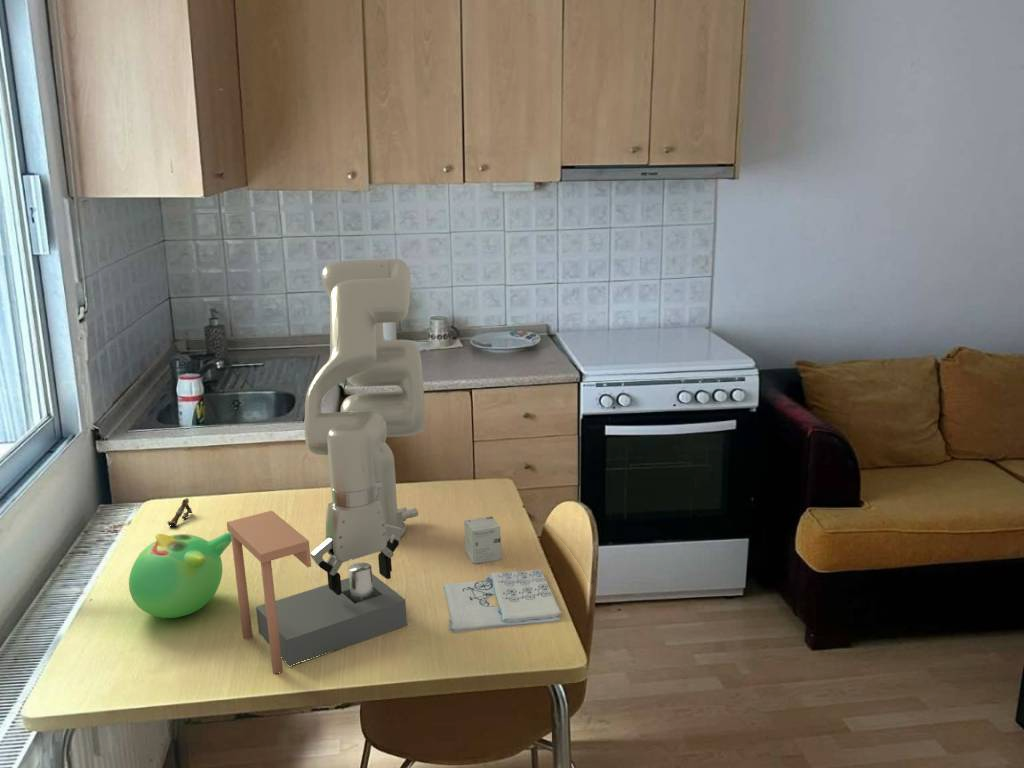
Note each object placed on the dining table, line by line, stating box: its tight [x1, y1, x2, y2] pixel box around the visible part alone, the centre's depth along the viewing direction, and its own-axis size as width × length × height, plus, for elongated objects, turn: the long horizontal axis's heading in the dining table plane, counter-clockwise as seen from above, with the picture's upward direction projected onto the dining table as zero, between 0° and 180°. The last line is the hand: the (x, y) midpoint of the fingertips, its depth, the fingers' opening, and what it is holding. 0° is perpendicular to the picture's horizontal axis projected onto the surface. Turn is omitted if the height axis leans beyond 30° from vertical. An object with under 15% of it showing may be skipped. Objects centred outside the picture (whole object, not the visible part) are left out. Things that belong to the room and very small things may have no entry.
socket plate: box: [255, 573, 408, 667], centre depth 167 cm, size 22×14×5 cm, turn 125°
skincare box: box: [464, 516, 502, 565], centre depth 193 cm, size 6×6×7 cm
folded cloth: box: [442, 569, 562, 633], centre depth 175 cm, size 19×20×2 cm
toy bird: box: [128, 531, 232, 619], centre depth 174 cm, size 18×17×15 cm
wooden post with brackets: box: [166, 497, 193, 528], centre depth 216 cm, size 2×8×4 cm, turn 167°
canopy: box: [226, 510, 312, 674], centre depth 159 cm, size 8×16×22 cm, turn 35°
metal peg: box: [348, 562, 374, 604], centre depth 170 cm, size 4×4×10 cm
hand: (361, 584), depth 169 cm, fingers open, 9 cm apart
